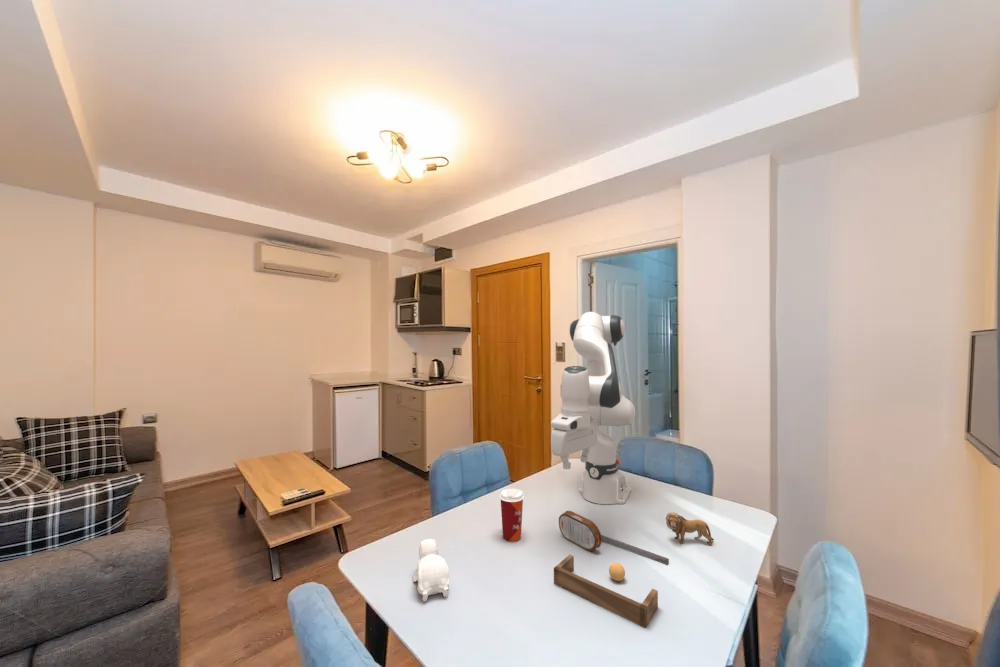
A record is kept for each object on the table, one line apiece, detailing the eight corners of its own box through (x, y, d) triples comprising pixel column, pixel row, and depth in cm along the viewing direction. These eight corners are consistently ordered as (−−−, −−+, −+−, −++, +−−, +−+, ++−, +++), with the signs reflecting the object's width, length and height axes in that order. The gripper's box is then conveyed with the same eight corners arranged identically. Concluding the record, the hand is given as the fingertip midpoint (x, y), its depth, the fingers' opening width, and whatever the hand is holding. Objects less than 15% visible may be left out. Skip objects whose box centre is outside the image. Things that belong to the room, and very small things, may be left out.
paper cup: (522, 545, 116) (522, 498, 117) (497, 542, 118) (497, 496, 118) (525, 532, 124) (525, 488, 124) (502, 529, 126) (502, 486, 126)
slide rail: (567, 526, 128) (567, 522, 128) (668, 563, 107) (668, 558, 107) (565, 528, 127) (565, 524, 127) (667, 565, 106) (667, 560, 106)
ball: (612, 572, 103) (612, 557, 103) (627, 578, 100) (627, 563, 100) (606, 580, 100) (606, 564, 100) (621, 586, 97) (621, 570, 97)
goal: (569, 569, 104) (569, 554, 104) (657, 607, 89) (657, 590, 89) (553, 583, 98) (553, 567, 98) (645, 627, 83) (645, 609, 83)
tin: (602, 553, 112) (602, 524, 112) (595, 557, 110) (595, 527, 110) (563, 532, 124) (563, 506, 124) (557, 535, 122) (556, 509, 122)
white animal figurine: (451, 604, 95) (441, 552, 108) (454, 580, 92) (443, 529, 105) (416, 613, 92) (410, 558, 106) (418, 587, 89) (411, 534, 103)
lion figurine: (670, 547, 115) (670, 517, 115) (662, 537, 120) (662, 509, 120) (718, 546, 116) (718, 515, 116) (708, 536, 121) (708, 508, 121)
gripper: (584, 414, 128) (585, 456, 127) (547, 422, 113) (547, 470, 113) (602, 416, 123) (602, 460, 123) (565, 425, 109) (565, 475, 108)
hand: (575, 465), depth 118 cm, fingers open, 8 cm apart
